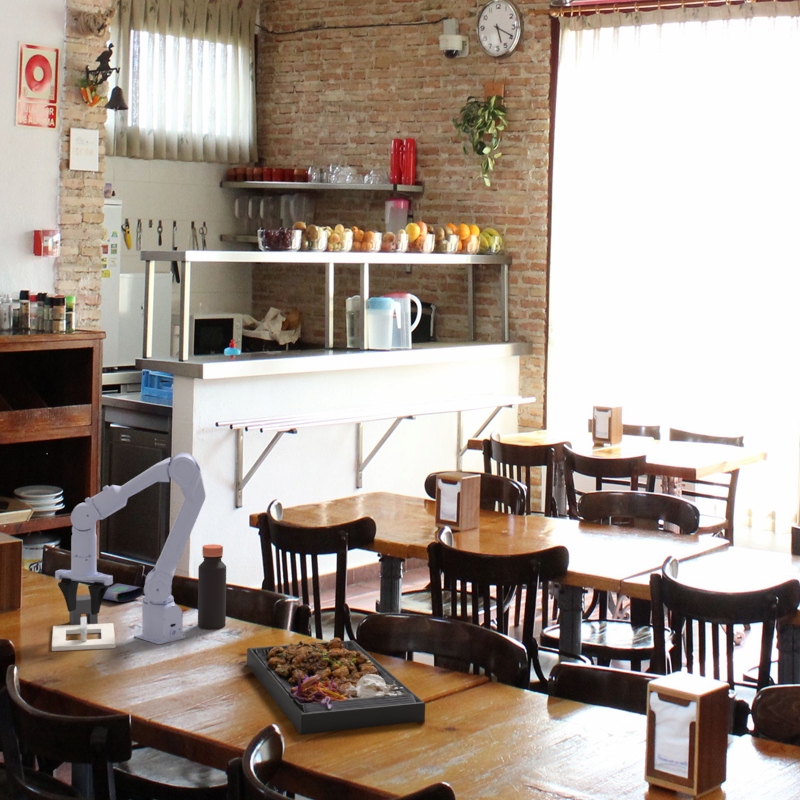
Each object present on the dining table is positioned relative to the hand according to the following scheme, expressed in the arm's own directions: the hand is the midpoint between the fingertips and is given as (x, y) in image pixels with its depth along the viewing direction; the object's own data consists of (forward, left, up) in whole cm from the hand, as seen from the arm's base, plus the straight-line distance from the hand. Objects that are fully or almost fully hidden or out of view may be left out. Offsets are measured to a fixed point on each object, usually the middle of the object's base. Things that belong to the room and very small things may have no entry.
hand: (83, 612), depth 281 cm
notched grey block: (+11, -8, -6) cm, 15 cm away
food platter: (-68, -12, -7) cm, 69 cm away
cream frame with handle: (0, 0, -6) cm, 6 cm away
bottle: (-13, -28, -7) cm, 32 cm away
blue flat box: (+20, -29, -7) cm, 36 cm away
